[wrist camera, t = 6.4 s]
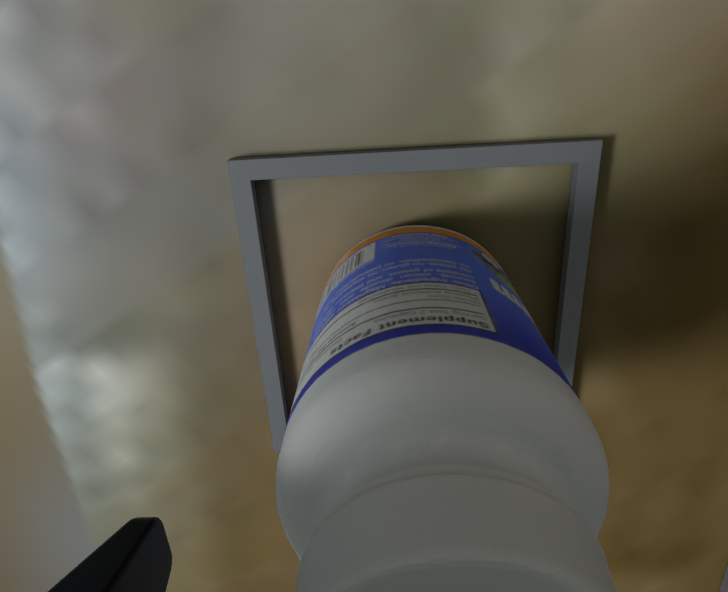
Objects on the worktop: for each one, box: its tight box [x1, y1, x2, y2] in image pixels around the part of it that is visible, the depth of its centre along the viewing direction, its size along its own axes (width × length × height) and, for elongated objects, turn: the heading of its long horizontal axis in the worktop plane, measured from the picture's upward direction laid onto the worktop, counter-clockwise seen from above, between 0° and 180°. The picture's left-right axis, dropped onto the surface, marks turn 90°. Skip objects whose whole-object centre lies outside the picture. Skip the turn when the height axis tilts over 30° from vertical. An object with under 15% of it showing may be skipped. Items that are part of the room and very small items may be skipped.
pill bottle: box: [276, 225, 617, 592], centre depth 10 cm, size 5×5×10 cm
